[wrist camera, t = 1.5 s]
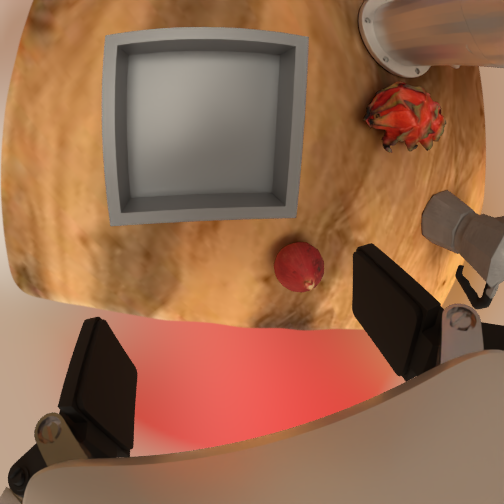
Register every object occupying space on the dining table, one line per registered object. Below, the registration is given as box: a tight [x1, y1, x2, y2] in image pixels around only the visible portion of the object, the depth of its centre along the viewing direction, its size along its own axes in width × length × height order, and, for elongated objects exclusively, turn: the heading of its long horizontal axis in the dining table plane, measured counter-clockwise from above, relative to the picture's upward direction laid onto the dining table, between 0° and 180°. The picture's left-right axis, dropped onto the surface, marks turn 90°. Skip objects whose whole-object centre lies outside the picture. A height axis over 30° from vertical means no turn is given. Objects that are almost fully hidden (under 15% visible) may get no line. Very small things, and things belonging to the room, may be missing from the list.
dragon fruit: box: [363, 81, 446, 153], centre depth 28 cm, size 8×8×12 cm
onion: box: [274, 242, 324, 292], centre depth 34 cm, size 6×6×8 cm
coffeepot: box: [421, 190, 504, 309], centre depth 33 cm, size 15×9×18 cm, turn 174°
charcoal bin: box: [102, 27, 309, 226], centre depth 26 cm, size 18×18×6 cm
